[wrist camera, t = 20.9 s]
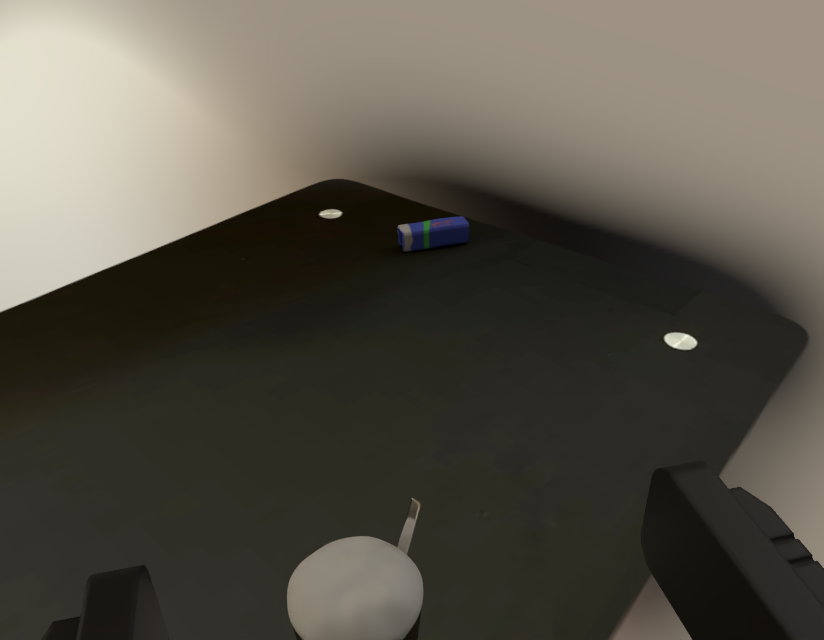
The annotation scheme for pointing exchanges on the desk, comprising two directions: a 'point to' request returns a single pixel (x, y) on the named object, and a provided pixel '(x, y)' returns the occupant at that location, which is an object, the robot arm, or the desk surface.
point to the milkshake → (358, 589)
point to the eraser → (433, 233)
